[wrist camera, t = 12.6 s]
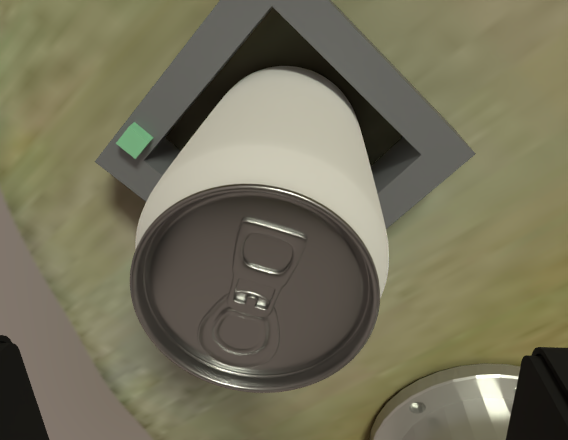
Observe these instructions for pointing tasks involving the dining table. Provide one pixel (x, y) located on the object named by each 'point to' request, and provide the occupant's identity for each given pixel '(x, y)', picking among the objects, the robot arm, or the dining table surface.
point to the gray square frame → (340, 54)
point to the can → (264, 239)
